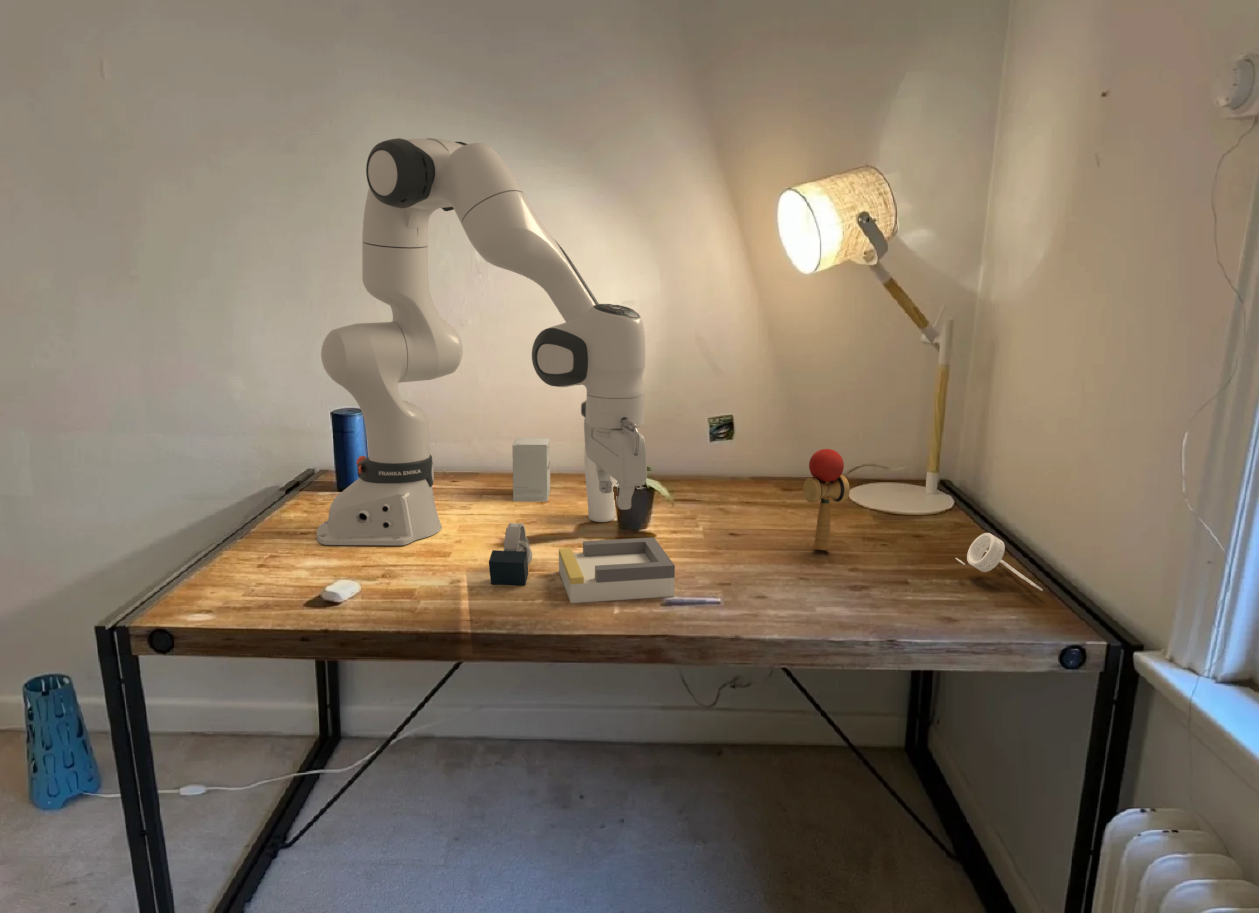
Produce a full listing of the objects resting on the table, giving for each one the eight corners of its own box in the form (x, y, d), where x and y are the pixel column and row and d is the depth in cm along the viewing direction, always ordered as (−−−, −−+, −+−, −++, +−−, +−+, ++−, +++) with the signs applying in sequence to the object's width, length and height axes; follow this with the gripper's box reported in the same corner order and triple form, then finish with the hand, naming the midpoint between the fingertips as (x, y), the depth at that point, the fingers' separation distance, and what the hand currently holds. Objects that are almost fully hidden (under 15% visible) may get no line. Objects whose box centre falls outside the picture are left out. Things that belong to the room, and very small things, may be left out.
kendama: (839, 541, 168) (845, 445, 164) (848, 552, 161) (855, 453, 157) (797, 541, 167) (802, 445, 163) (805, 553, 161) (810, 453, 157)
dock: (570, 603, 137) (570, 571, 136) (558, 571, 151) (558, 542, 150) (674, 596, 141) (674, 565, 139) (653, 565, 154) (654, 537, 153)
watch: (526, 595, 145) (536, 555, 155) (523, 553, 141) (534, 515, 151) (491, 593, 146) (503, 553, 155) (487, 552, 142) (500, 513, 151)
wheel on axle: (937, 543, 160) (959, 512, 159) (982, 571, 161) (1004, 541, 160) (981, 579, 142) (1006, 544, 141) (1031, 610, 144) (1056, 576, 143)
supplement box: (548, 504, 190) (547, 444, 187) (512, 503, 190) (511, 444, 187) (551, 494, 197) (550, 437, 194) (516, 494, 197) (515, 437, 195)
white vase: (618, 524, 177) (618, 448, 173) (583, 524, 177) (583, 448, 173) (619, 514, 183) (620, 441, 180) (585, 514, 183) (585, 440, 180)
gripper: (658, 424, 131) (656, 517, 134) (614, 400, 150) (613, 482, 153) (616, 426, 129) (615, 520, 132) (577, 402, 148) (577, 485, 151)
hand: (614, 500), depth 143 cm, fingers open, 8 cm apart
